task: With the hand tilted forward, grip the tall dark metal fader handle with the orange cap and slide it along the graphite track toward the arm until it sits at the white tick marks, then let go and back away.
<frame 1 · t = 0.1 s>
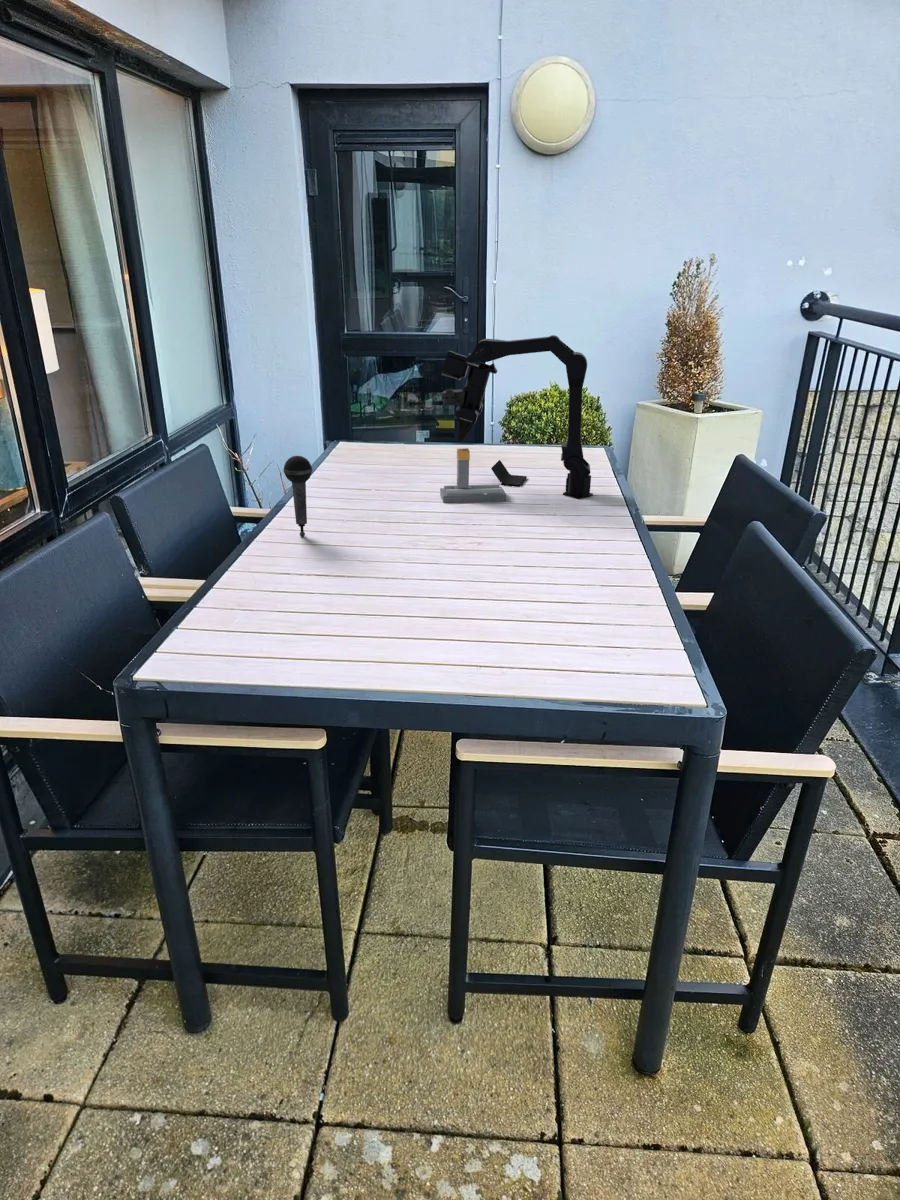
hand: (461, 438, 228), 15 cm above the table, tool pointing down, fingers open, 9 cm apart
fader track: (472, 498, 226), on the table
handheld gaming console: (508, 482, 244), on the table
fader: (462, 470, 222), point 8 cm above the table, slide at 3.0 cm
microphone: (302, 537, 193), on the table
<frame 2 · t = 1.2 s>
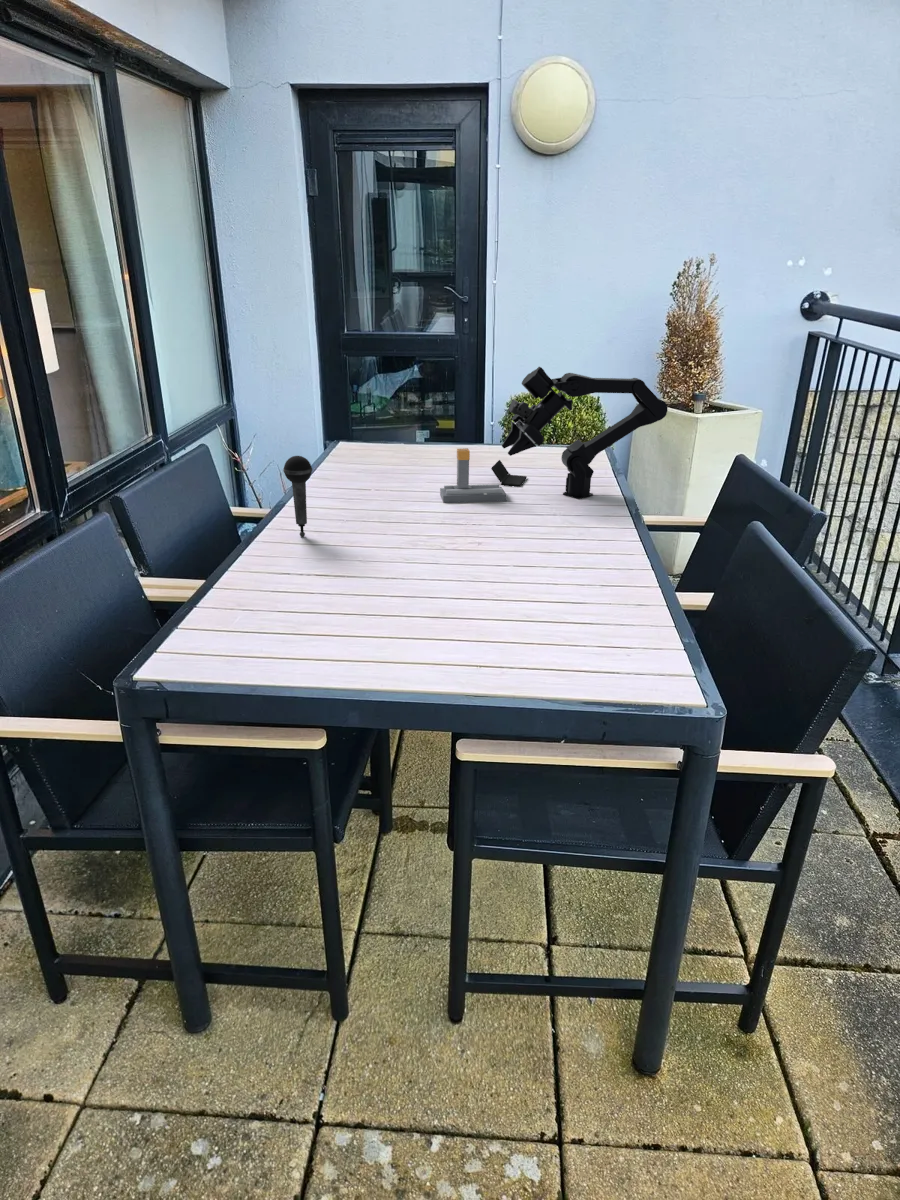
hand: (505, 450, 222), 13 cm above the table, tool tilted 45°, fingers open, 9 cm apart
nothing on the table moved.
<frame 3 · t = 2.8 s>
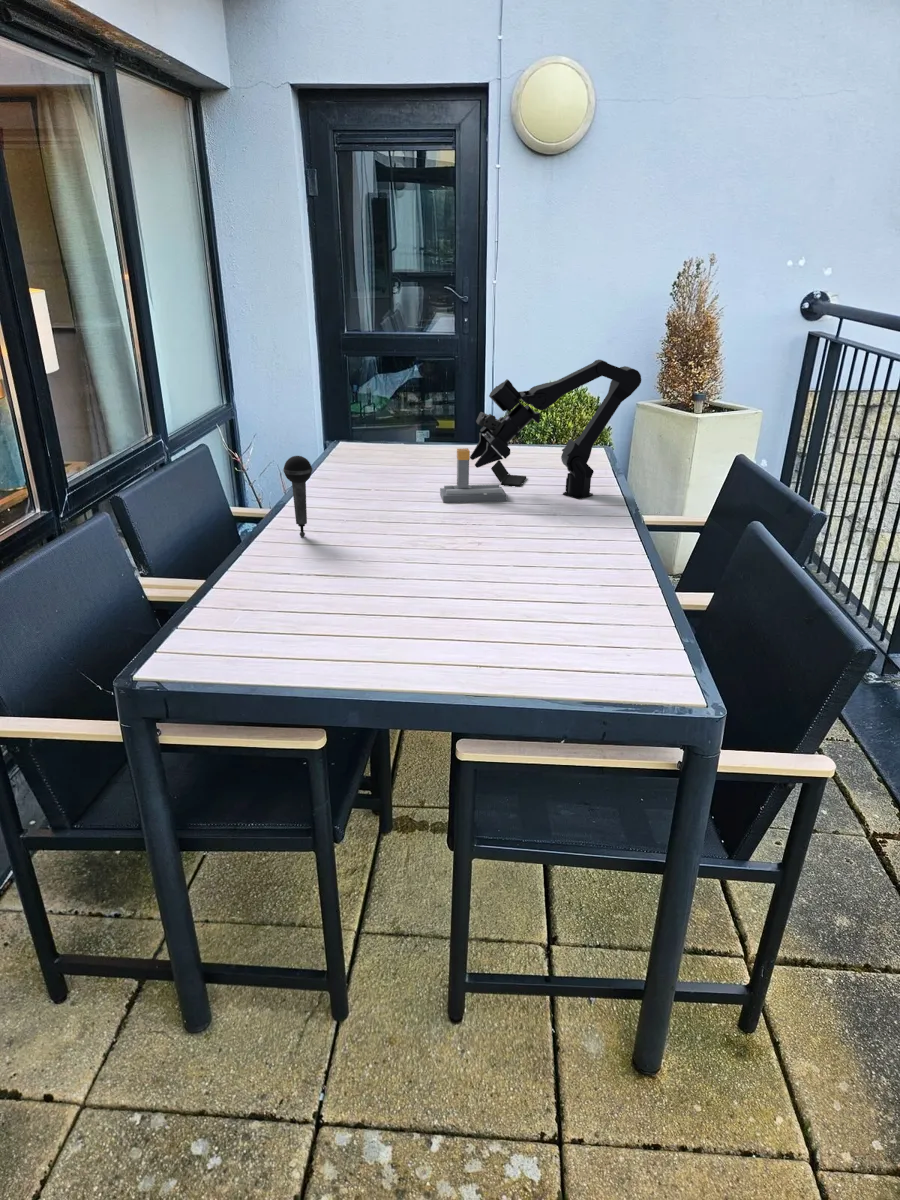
hand: (473, 462, 222), 10 cm above the table, tool tilted 45°, fingers open, 9 cm apart
nothing on the table moved.
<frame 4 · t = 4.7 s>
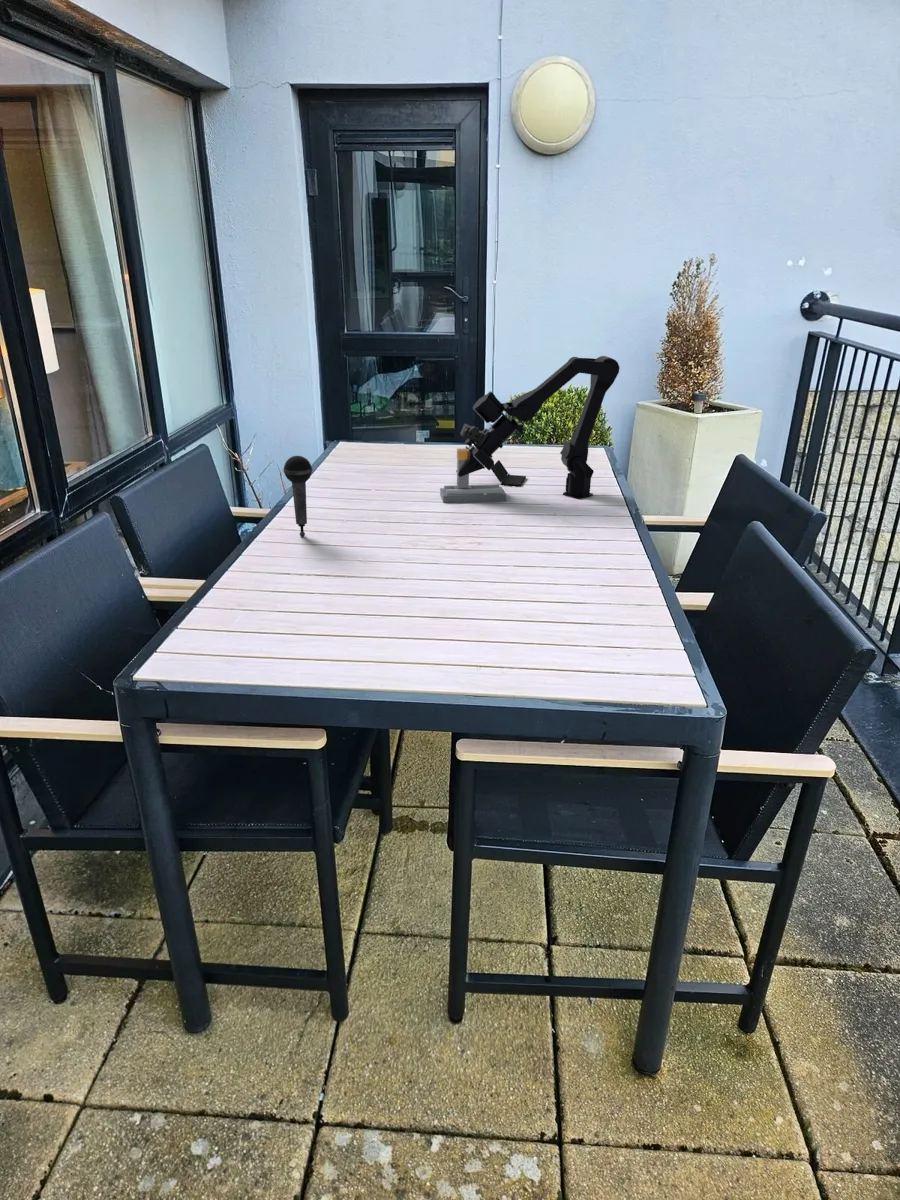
hand: (457, 474, 223), 7 cm above the table, tool tilted 45°, fingers closed on fader, 3 cm apart
fader: (462, 470, 222), point 8 cm above the table, slide at 3.0 cm, touching gripper
everything else where it was.
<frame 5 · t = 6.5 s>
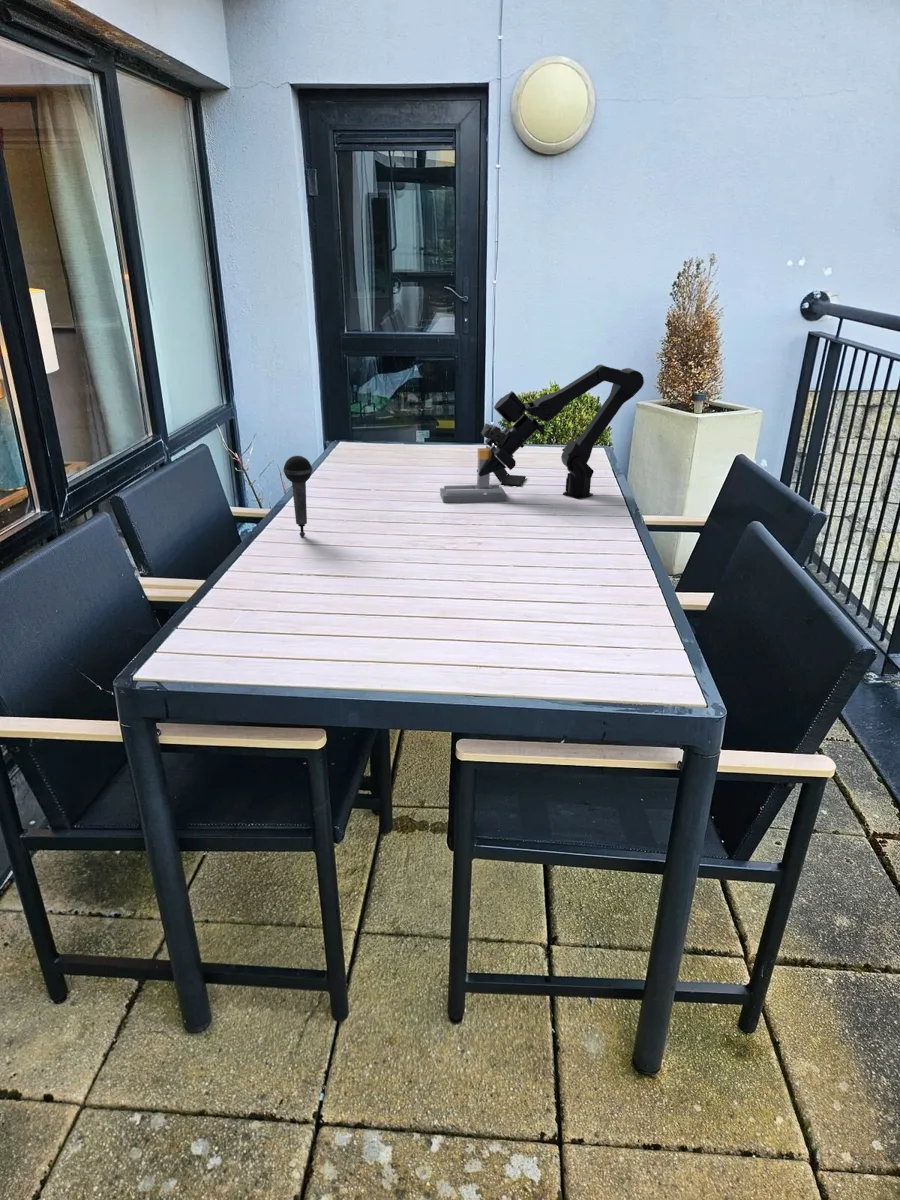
hand: (478, 473, 223), 7 cm above the table, tool tilted 45°, fingers closed on fader, 3 cm apart
fader: (483, 470, 223), point 8 cm above the table, slide at -2.9 cm, touching gripper
everything else where it was.
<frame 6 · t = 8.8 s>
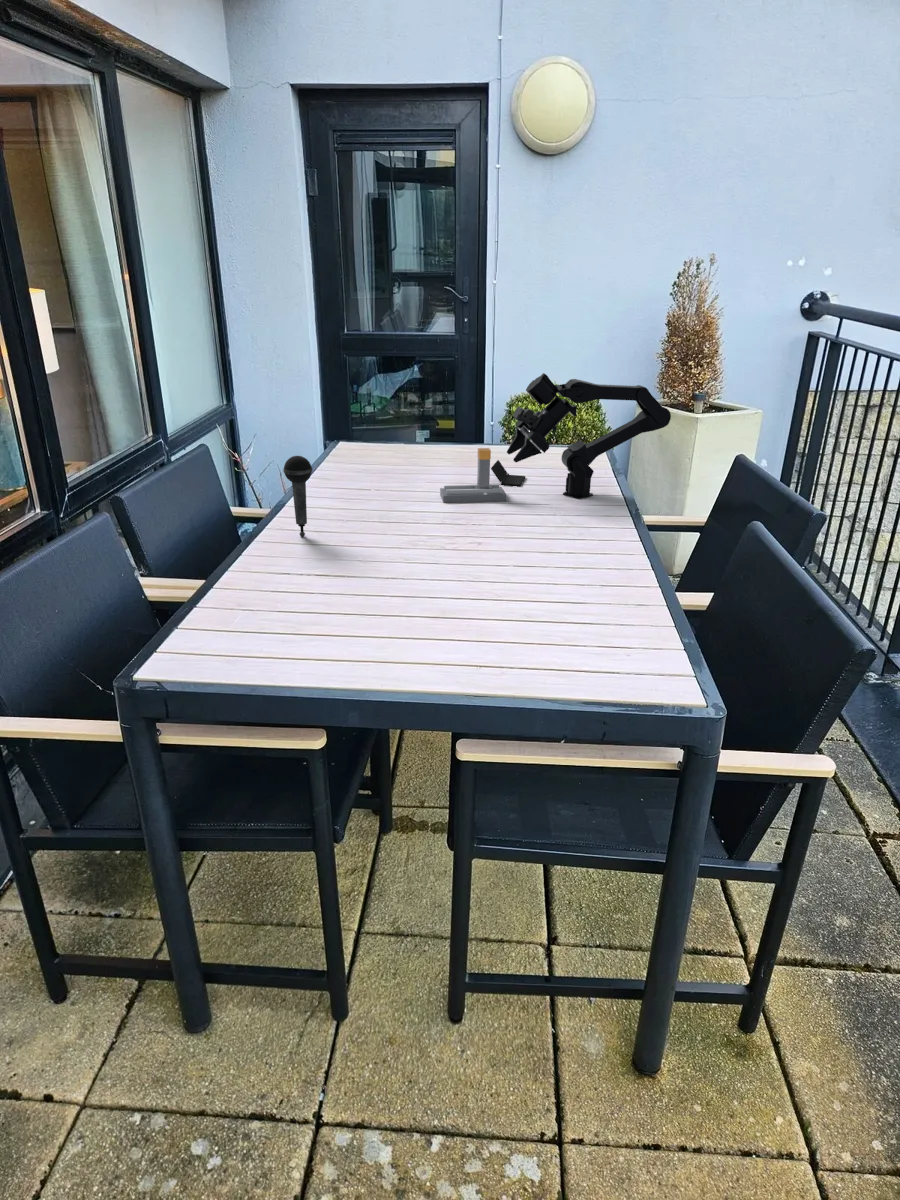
hand: (510, 457, 223), 12 cm above the table, tool tilted 45°, fingers open, 9 cm apart
fader: (483, 470, 223), point 8 cm above the table, slide at -3.0 cm
everything else where it was.
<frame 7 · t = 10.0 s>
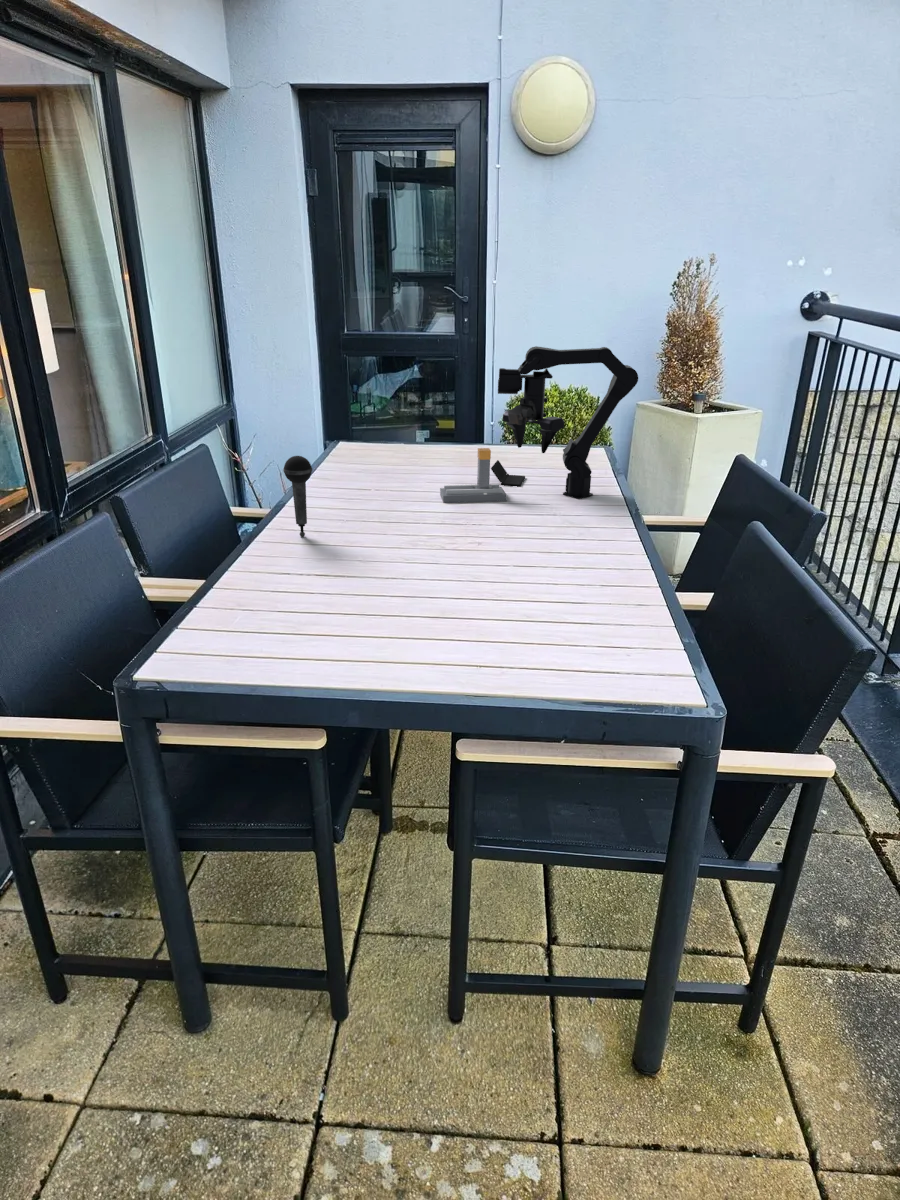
hand: (531, 450, 225), 13 cm above the table, tool pointing down, fingers open, 9 cm apart
nothing on the table moved.
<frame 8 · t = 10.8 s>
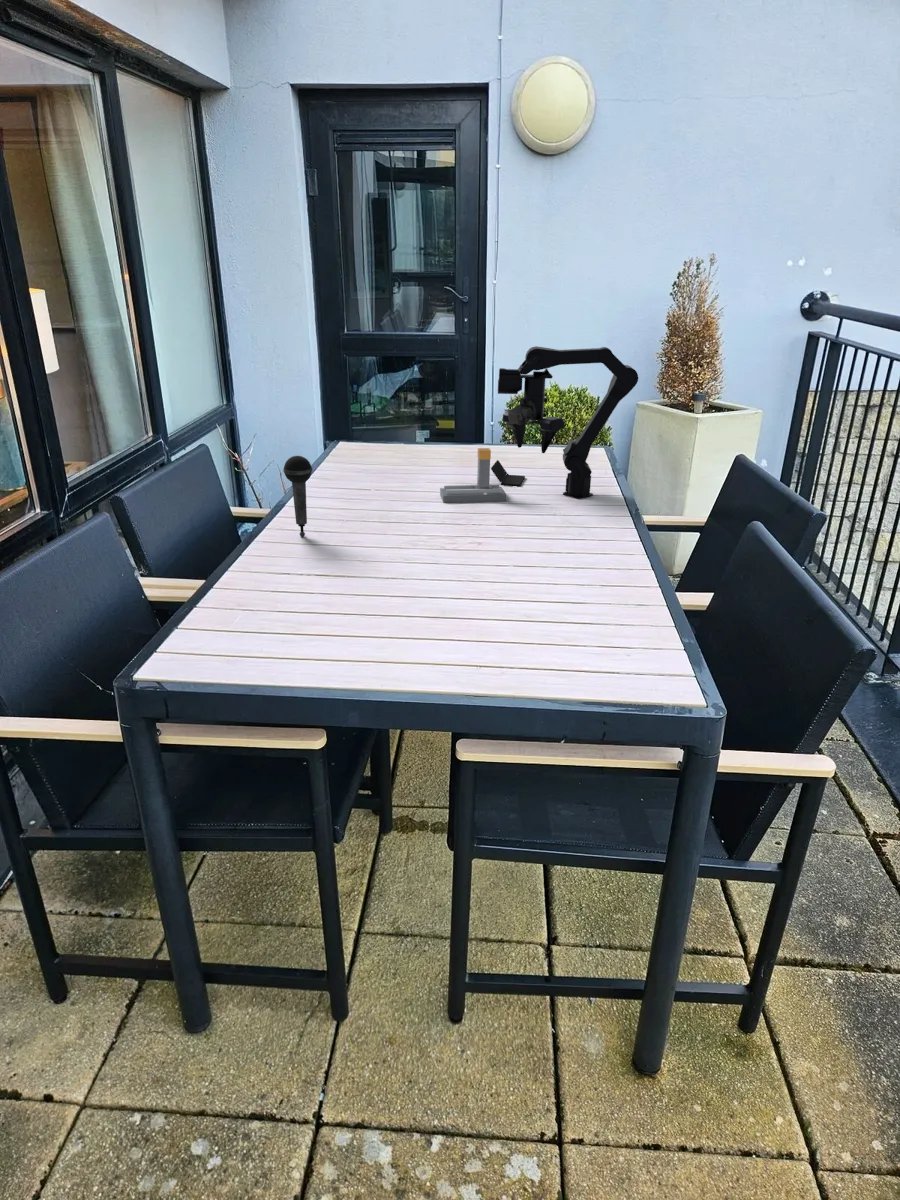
hand: (531, 450, 225), 13 cm above the table, tool pointing down, fingers open, 9 cm apart
nothing on the table moved.
at the end: fader slide at -3.0 cm; the gripper is holding nothing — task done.
